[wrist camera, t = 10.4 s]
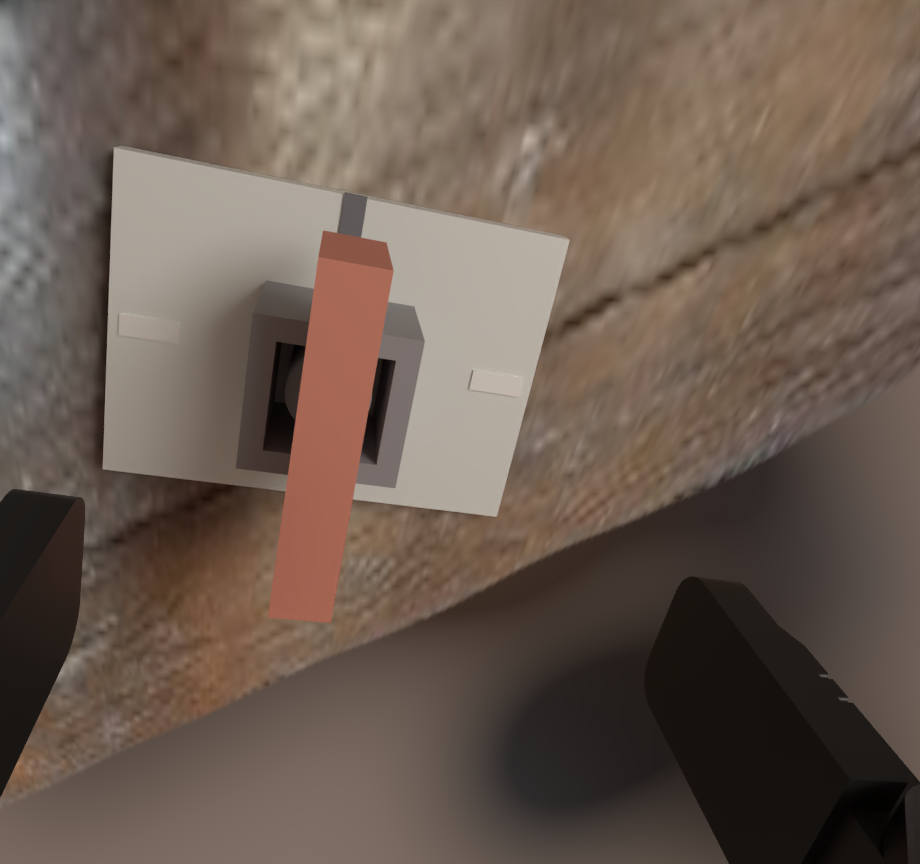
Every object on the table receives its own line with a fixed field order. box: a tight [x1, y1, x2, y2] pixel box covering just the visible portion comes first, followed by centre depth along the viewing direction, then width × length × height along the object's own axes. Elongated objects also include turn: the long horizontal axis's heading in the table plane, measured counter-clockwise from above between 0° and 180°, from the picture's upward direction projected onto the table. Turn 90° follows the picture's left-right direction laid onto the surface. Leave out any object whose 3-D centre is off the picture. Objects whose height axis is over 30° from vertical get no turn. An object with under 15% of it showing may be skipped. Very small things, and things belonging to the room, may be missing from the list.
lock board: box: [103, 146, 570, 517], centre depth 34 cm, size 20×15×6 cm
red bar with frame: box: [236, 230, 425, 623], centre depth 31 cm, size 14×7×10 cm, turn 168°
